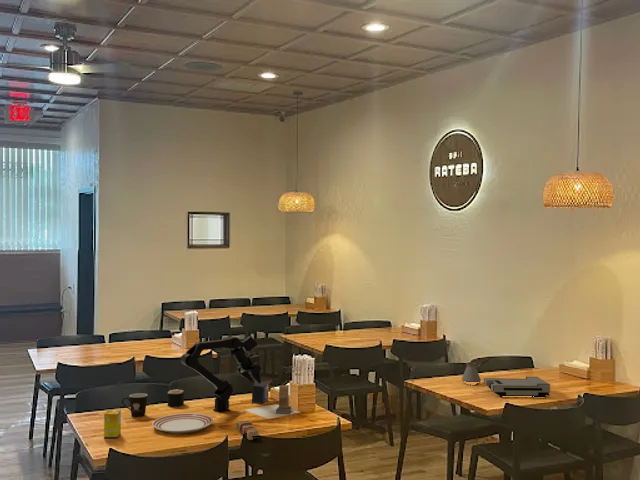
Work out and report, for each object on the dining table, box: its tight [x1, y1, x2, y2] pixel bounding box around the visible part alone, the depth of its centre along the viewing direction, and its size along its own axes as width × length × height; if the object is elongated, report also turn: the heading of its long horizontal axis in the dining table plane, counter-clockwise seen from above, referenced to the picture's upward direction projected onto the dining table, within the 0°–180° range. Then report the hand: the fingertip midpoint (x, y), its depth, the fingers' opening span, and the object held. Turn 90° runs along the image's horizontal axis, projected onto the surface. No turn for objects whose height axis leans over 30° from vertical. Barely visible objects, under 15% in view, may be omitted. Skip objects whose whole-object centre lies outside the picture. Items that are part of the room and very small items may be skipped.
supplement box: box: [103, 409, 122, 440], centre depth 282 cm, size 6×6×11 cm
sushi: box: [167, 388, 185, 408], centre depth 338 cm, size 8×8×8 cm
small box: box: [251, 381, 269, 405], centre depth 344 cm, size 11×6×10 cm, turn 168°
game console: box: [483, 376, 551, 397], centre depth 373 cm, size 21×32×8 cm, turn 91°
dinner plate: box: [151, 412, 214, 434], centre depth 297 cm, size 27×27×3 cm
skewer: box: [236, 420, 260, 441], centre depth 288 cm, size 21×6×5 cm, turn 22°
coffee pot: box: [461, 357, 493, 383], centre depth 400 cm, size 21×12×15 cm, turn 115°
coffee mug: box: [121, 392, 148, 418], centre depth 317 cm, size 12×9×10 cm
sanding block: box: [276, 384, 292, 414], centre depth 322 cm, size 8×6×13 cm
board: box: [243, 403, 301, 420], centre depth 323 cm, size 20×21×1 cm
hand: (256, 382), depth 337 cm, fingers open, 9 cm apart
